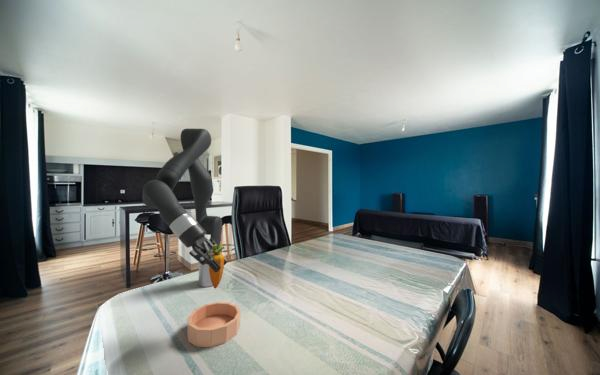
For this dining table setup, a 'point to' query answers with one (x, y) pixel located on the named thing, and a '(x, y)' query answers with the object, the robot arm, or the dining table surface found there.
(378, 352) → the dining table surface
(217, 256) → the carrot
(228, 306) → the terracotta bowl
